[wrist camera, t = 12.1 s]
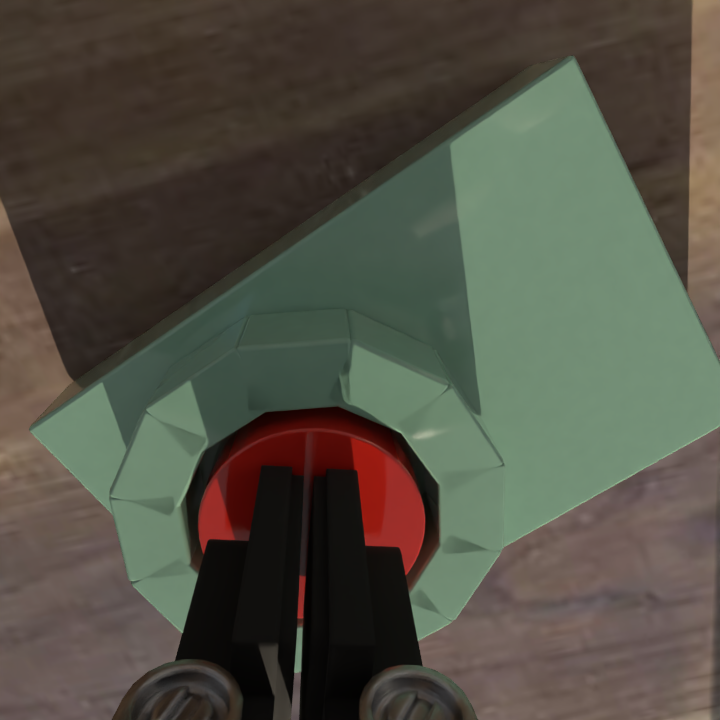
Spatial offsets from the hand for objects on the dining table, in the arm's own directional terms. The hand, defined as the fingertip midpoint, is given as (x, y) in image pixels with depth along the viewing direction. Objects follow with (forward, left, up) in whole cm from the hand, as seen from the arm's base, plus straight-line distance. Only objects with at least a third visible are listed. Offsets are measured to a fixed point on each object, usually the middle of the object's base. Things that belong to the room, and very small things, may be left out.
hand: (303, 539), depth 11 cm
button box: (-2, 0, -4) cm, 5 cm away
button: (0, 0, -2) cm, 2 cm away
